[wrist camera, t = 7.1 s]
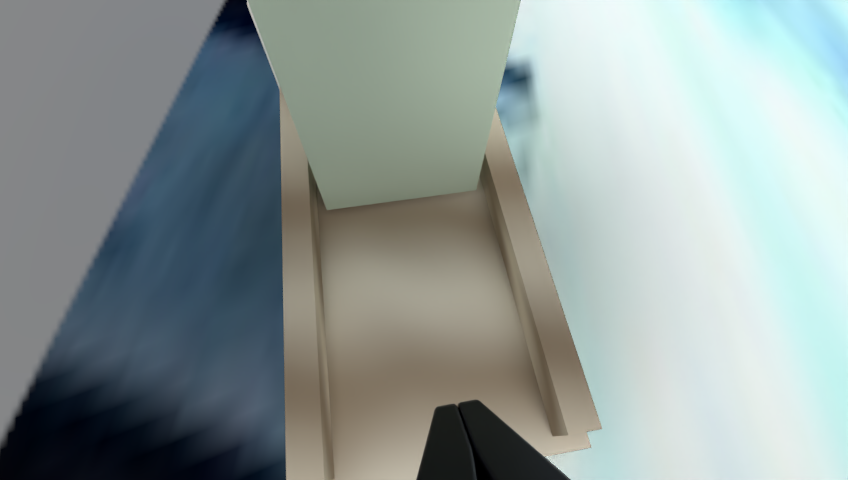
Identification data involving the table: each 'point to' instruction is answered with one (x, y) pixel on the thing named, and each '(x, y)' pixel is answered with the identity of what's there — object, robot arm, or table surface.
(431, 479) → the robot arm
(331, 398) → the birch rail
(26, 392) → the table surface
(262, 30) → the sliding block
